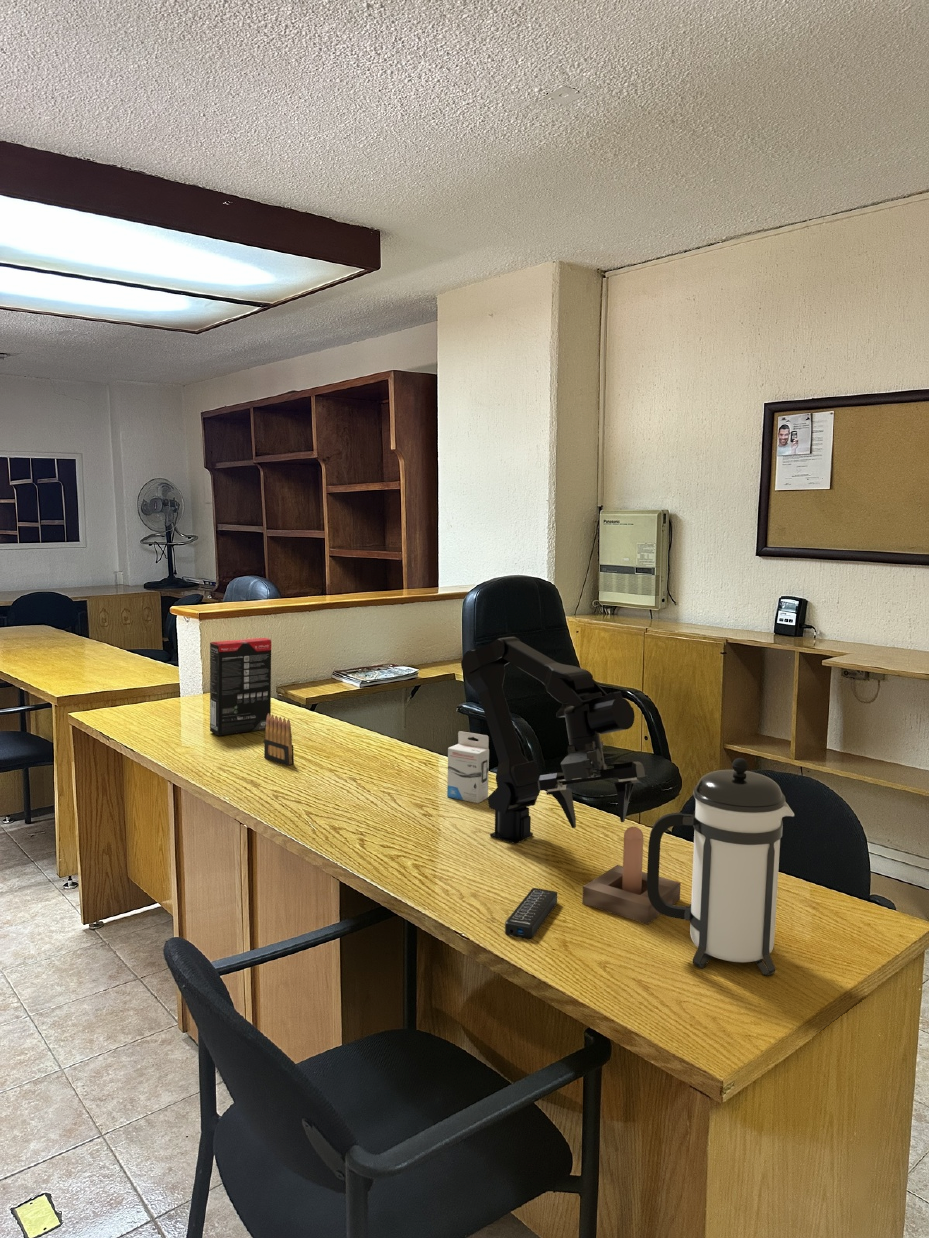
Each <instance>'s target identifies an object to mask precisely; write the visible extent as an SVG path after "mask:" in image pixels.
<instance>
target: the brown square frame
mask: <svg viewBox="0 0 929 1238" xmlns="http://www.w3.org/2000/svg"><path fill="white" fill-rule="evenodd" d="M622 879H623V865H619V864H616V865H614V867H612V868H610V869H609V870H607V871H606V872H604V873H602V874H601V875H599V876H597V877H595V878H594V879H593V880H591V881H589V882H588V883H586V884H584V885H583V886H582V905H584V906H585V905H586V906H589V907H591V908H595V909H599V910H602V911H604V912H608V913H610V914H614V915H617V916H620V917H623V918H627V919H629V920H633V921H635V920H636V922H639V923H642V924H646V925H649V924H650V923H652V922H653V921H654V920H656V919H657V918H658V917H660V916H661V915H662V914H661V913H659V912H658V911H657V910H656V909H655V908H654V907H653V906H652V904H651V902H650V900H649V897H648V892H647V872H644V871H642V889H641V895H638V894H634V893H631V892H628V891H624V890H622ZM681 885H682V882H680V881H677V880H673V879H669V878H665V877H661V876H659V894H660V896H661V898H662V899H663V900H664V901H665V902H666V903H668V904H670V905H675V904H676V903H677V902H679V901H680V900H681ZM678 900H679V901H678ZM674 903H675V904H674Z"/></svg>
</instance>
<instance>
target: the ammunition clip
mask: <svg viewBox="0 0 929 1238" xmlns="http://www.w3.org/2000/svg"><path fill="white" fill-rule="evenodd" d="M263 742H264V749H263V750H264V753H263V755H264V757H263V758H264V759H266V760H269V761H271V762H275V763H279V764H281V765H284V766H286V767H289V766H293V765H295V761H294V760H295V759H294V756H295V755H294V754H295V753H294V744H293V743H292V742H293V735H292V726H291V720H290V718H288V719H287V720H286V717H284V718H282V717H281V716H279V718H278V715H275V716H274V714H272V713H271V718H270V715H269V713H268V715H267V720H266V729H265V738H264V741H263Z"/></svg>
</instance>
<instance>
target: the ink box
mask: <svg viewBox="0 0 929 1238" xmlns="http://www.w3.org/2000/svg"><path fill="white" fill-rule="evenodd" d="M457 735H458V736H457V740H458V741H457V742H458V743H457V744H455V745H454V744H453V745H452V746H449V747H448V748H447V779H446V780H447V781H446V782H447V783H446V784H447V787H446V790H447V791H446V793H447V794H446V797H447V798H450V799H455V800H460V801H466V802H470V803H475V804H480V803H481V802H483V801H485V800H486V799H487V798H488V797H489V778H490V777H489V773H490V772H489V771H490V770H489V768H490V767H489V766H490V765H489V764H490V763H489V762H490V749H489V742H490V741H489V740H490V737H489V736H488V735H487V734H480V733H474V732H467V731H461V730H459V731H458V732H457ZM470 738H474V739H476V740H477V741H476V740H472V739H470Z"/></svg>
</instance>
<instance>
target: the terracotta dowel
mask: <svg viewBox="0 0 929 1238" xmlns="http://www.w3.org/2000/svg"><path fill="white" fill-rule="evenodd" d="M622 850H623V855H622V856H623V857H622V866H623V879H622V890H624V891H628V892H631V893H634V894H638V895H641V889H642V872H643V863H644V862H643V857H644V855H643V854H644V833H643V830H641V829H640V828H639V827H637V826H630V827H628V828H626V829H625V831H624V833H623V849H622Z"/></svg>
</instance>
